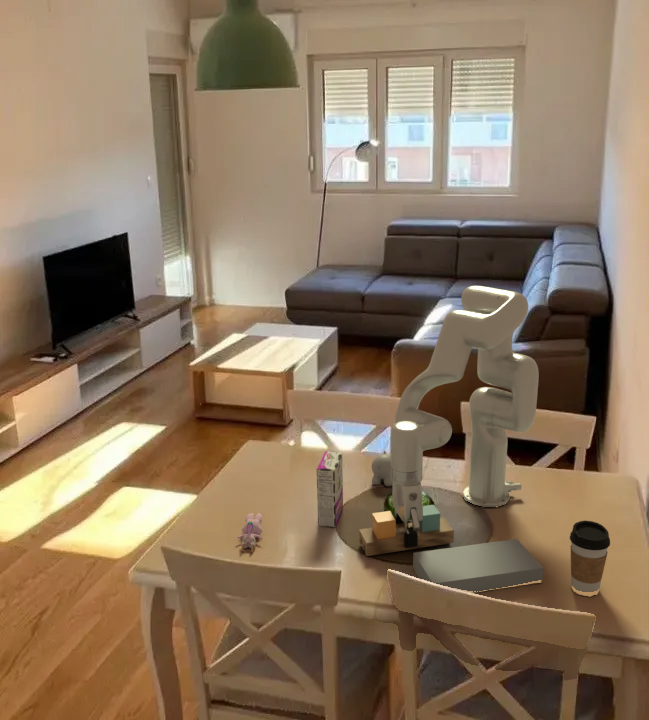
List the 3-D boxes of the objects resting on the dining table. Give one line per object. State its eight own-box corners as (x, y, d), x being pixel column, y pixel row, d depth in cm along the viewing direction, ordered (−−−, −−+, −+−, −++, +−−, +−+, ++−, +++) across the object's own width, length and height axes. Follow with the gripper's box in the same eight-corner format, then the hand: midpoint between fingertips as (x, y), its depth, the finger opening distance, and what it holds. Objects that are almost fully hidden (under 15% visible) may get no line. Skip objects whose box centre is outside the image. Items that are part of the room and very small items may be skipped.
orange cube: (389, 527, 195) (389, 510, 194) (395, 536, 191) (395, 519, 190) (372, 529, 194) (372, 513, 193) (377, 539, 190) (377, 522, 189)
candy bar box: (325, 506, 215) (324, 450, 210) (343, 507, 214) (343, 451, 209) (316, 526, 205) (315, 468, 200) (335, 528, 204) (335, 469, 199)
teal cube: (433, 520, 197) (433, 504, 196) (439, 529, 193) (440, 513, 192) (416, 523, 197) (416, 507, 195) (422, 532, 192) (422, 516, 191)
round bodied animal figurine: (403, 472, 235) (404, 445, 232) (392, 489, 224) (392, 462, 222) (380, 468, 237) (380, 442, 235) (368, 485, 227) (368, 458, 224)
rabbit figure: (260, 557, 193) (268, 518, 207) (259, 538, 191) (266, 500, 204) (234, 557, 194) (244, 518, 207) (233, 537, 191) (242, 499, 204)
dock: (516, 553, 191) (517, 538, 190) (542, 583, 179) (543, 567, 178) (413, 567, 186) (413, 552, 184) (432, 599, 174) (433, 583, 172)
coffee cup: (596, 578, 181) (603, 519, 176) (610, 600, 173) (617, 538, 168) (560, 579, 181) (565, 520, 176) (572, 601, 173) (578, 539, 168)
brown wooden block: (443, 529, 200) (444, 517, 199) (453, 542, 194) (453, 529, 193) (359, 542, 196) (359, 529, 195) (366, 556, 190) (366, 543, 189)
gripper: (434, 486, 182) (432, 555, 187) (409, 455, 198) (409, 519, 203) (403, 491, 180) (402, 560, 186) (380, 459, 196) (380, 523, 202)
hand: (405, 538), depth 195 cm, fingers closed on brown wooden block, 6 cm apart
